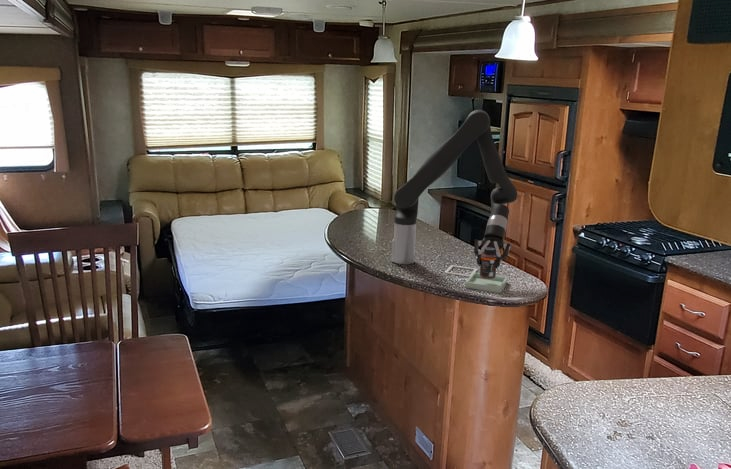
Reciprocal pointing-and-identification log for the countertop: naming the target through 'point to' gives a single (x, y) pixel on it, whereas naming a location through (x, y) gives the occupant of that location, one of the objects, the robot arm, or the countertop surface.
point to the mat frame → (457, 273)
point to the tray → (486, 283)
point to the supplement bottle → (488, 263)
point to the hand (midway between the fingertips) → (487, 265)
